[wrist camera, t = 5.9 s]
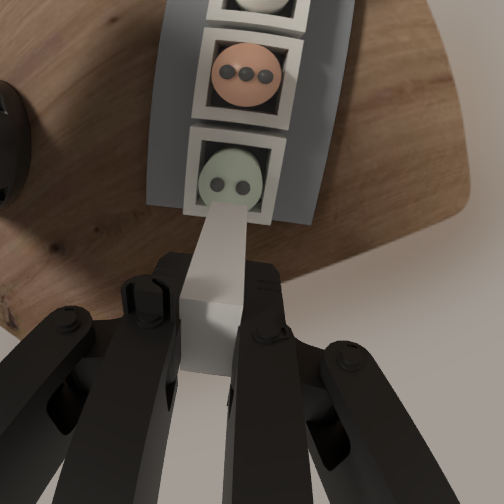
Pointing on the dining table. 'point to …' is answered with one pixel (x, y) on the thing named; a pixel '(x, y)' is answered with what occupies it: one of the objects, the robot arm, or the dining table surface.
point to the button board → (247, 118)
